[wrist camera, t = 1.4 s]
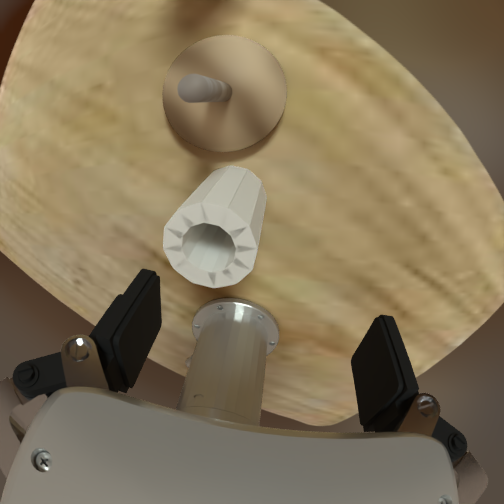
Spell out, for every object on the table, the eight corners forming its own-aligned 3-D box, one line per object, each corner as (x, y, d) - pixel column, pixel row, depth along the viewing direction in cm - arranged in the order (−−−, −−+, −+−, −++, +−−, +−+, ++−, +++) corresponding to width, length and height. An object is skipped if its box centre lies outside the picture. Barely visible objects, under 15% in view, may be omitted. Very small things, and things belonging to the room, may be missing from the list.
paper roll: (236, 238, 32) (216, 301, 23) (189, 199, 30) (148, 248, 21) (279, 197, 29) (276, 249, 20) (229, 152, 27) (199, 183, 18)
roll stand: (231, 172, 28) (204, 209, 19) (147, 104, 25) (87, 112, 16) (312, 89, 23) (329, 82, 14) (220, 18, 20) (186, -20, 11)
